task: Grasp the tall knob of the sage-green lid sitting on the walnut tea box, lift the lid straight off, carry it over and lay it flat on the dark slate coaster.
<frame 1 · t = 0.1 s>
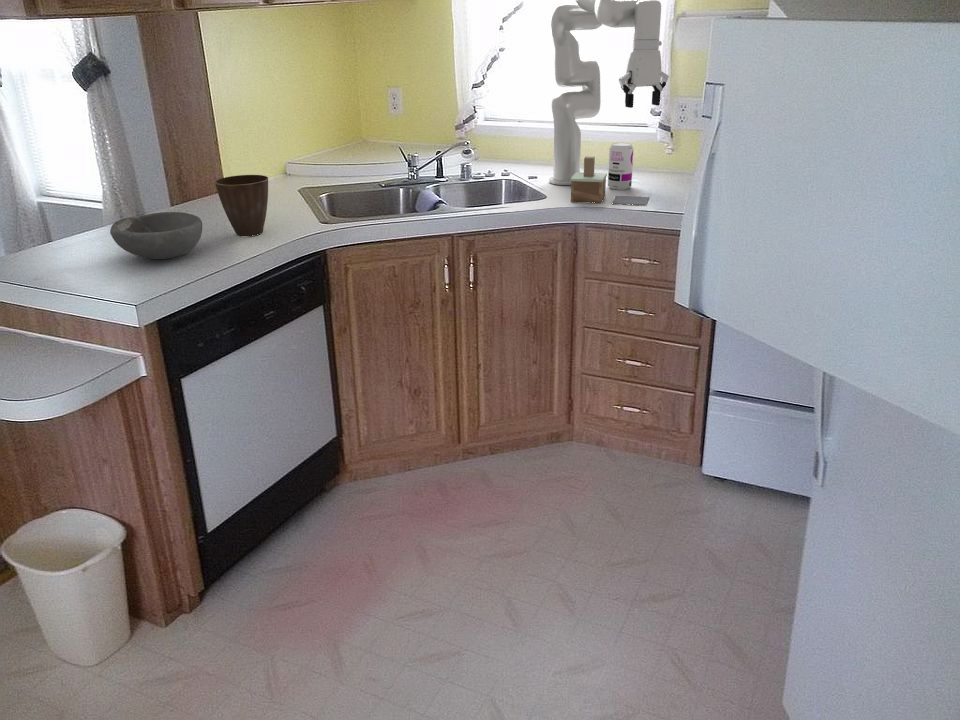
hand: (642, 106, 247), 31 cm above the countertop, tool pointing down, fingers open, 9 cm apart
bowl: (163, 257, 221), on the countertop
lid: (588, 178, 269), point 7 cm above the countertop, touching tea box
plant pot: (249, 234, 241), on the countertop
coaster: (630, 201, 268), on the countertop
supplement can: (619, 188, 287), on the countertop
tea box: (588, 199, 272), on the countertop
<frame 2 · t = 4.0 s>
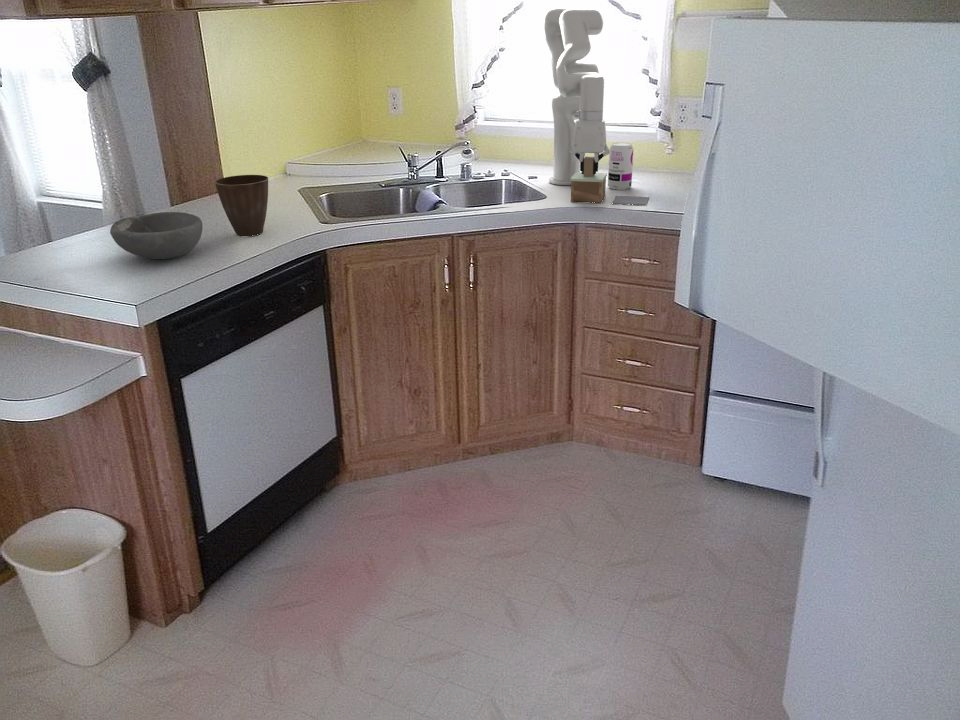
hand: (588, 173, 268), 9 cm above the countertop, tool pointing down, fingers closed on lid, 3 cm apart
lid: (588, 178, 269), point 7 cm above the countertop, touching gripper, tea box
everything else where it was.
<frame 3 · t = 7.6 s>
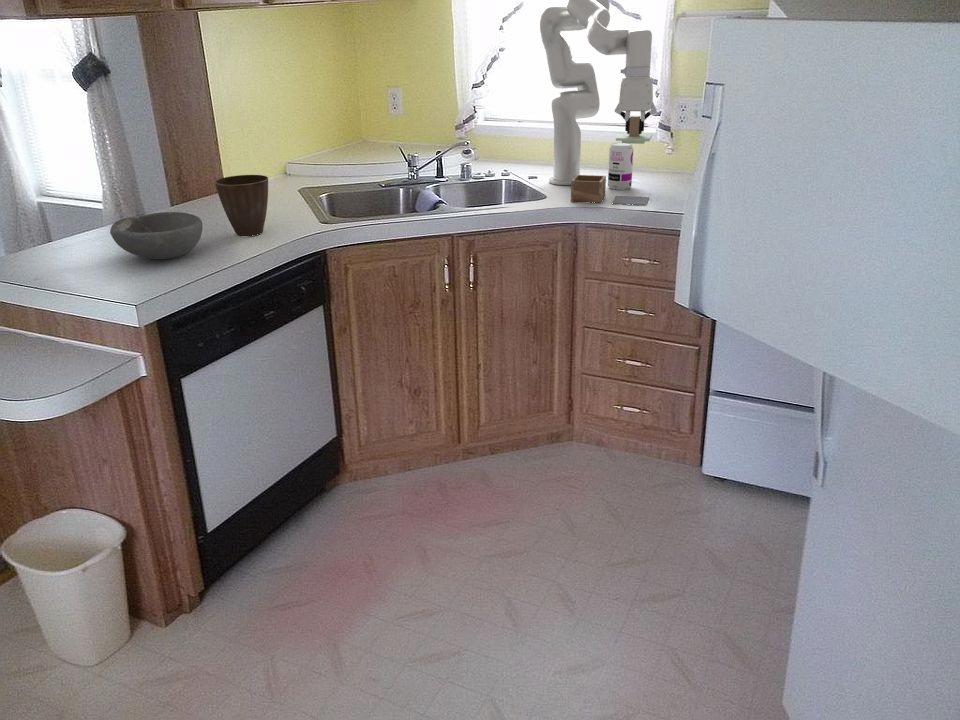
hand: (634, 133, 259), 22 cm above the countertop, tool pointing down, fingers closed on lid, 3 cm apart
lid: (634, 138, 260), point 20 cm above the countertop, touching gripper
everything else where it was.
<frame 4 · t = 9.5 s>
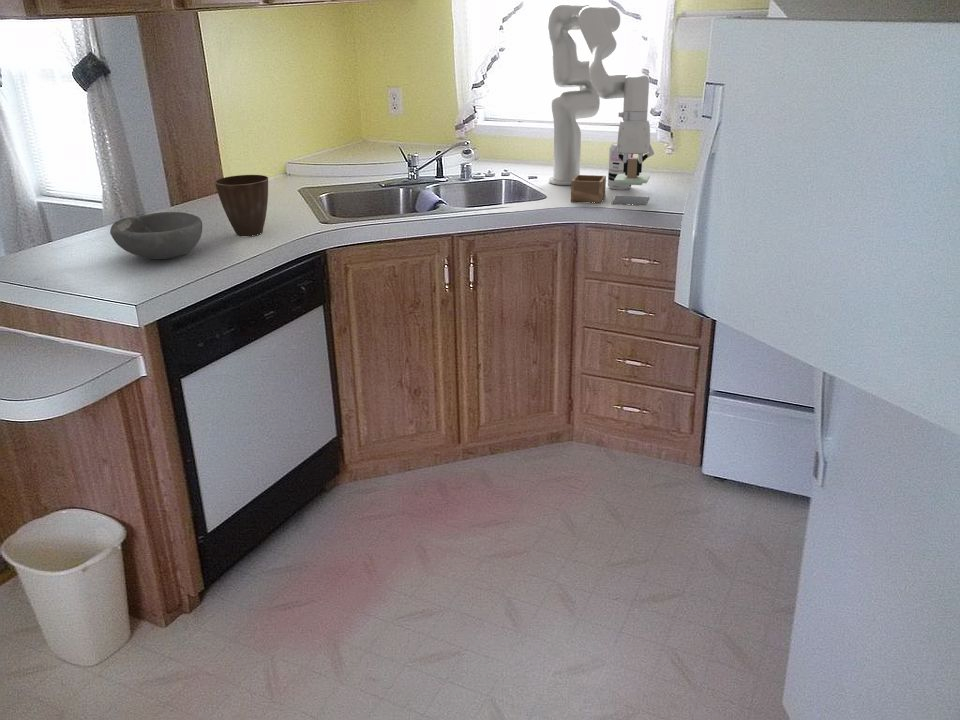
hand: (632, 174, 264), 9 cm above the countertop, tool pointing down, fingers closed on lid, 3 cm apart
lid: (632, 179, 265), point 7 cm above the countertop, touching gripper
everything else where it was.
when the fingers open (5 cm above the countertop, at t = 11.2 s): lid drops 2 cm, resting on coaster.
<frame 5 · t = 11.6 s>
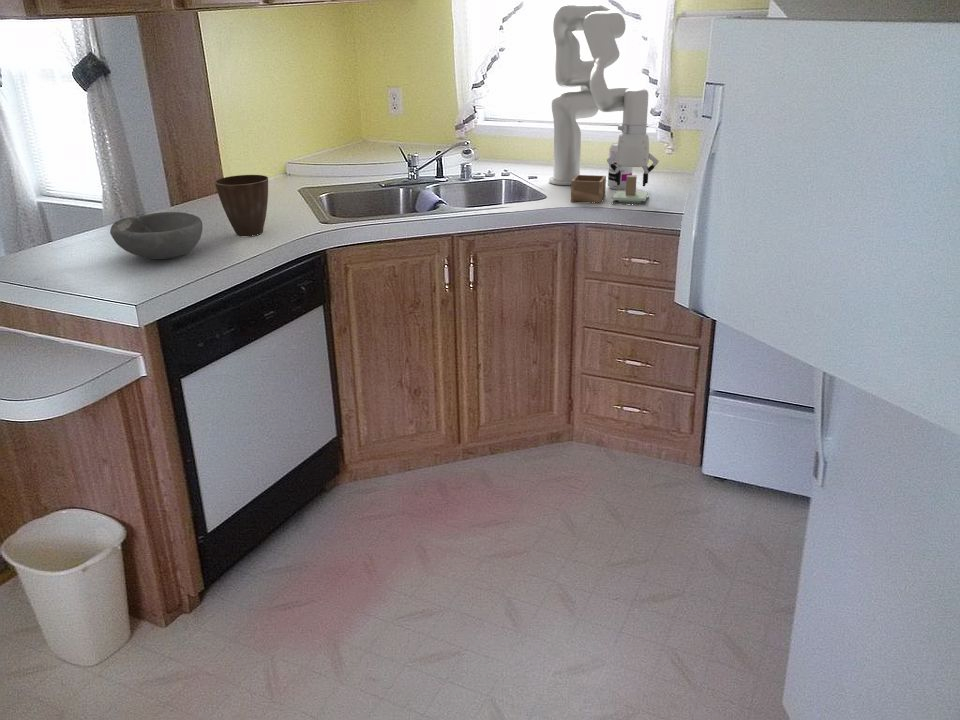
hand: (631, 184, 266), 5 cm above the countertop, tool pointing down, fingers open, 7 cm apart
lid: (630, 196, 268), point 1 cm above the countertop, touching coaster
everything else where it was.
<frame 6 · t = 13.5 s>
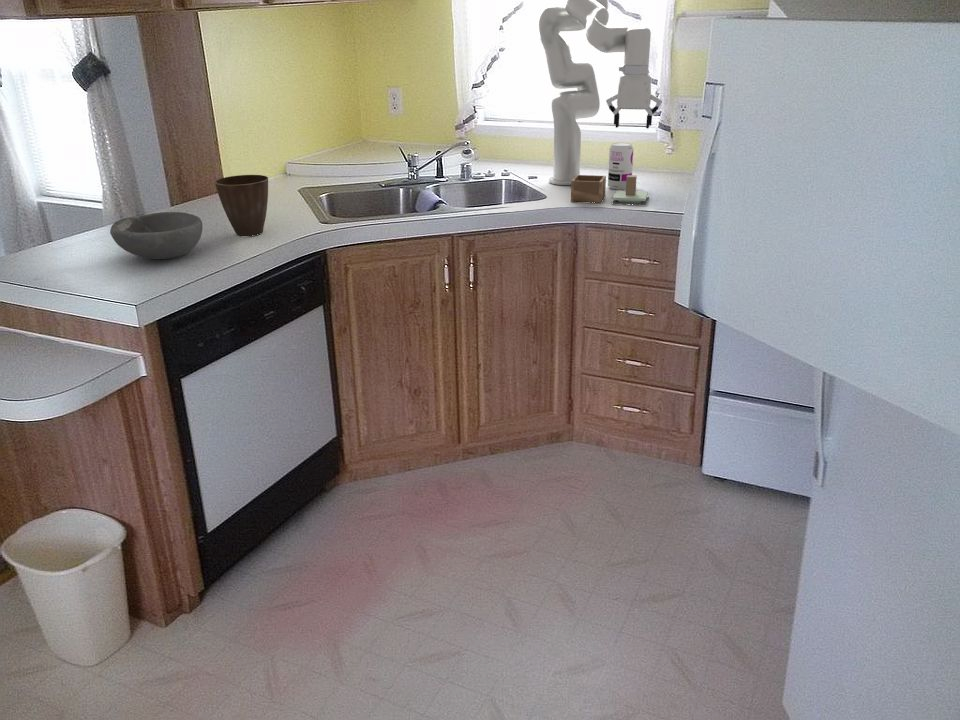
hand: (632, 127, 259), 24 cm above the countertop, tool pointing down, fingers open, 9 cm apart
nothing on the countertop moved.
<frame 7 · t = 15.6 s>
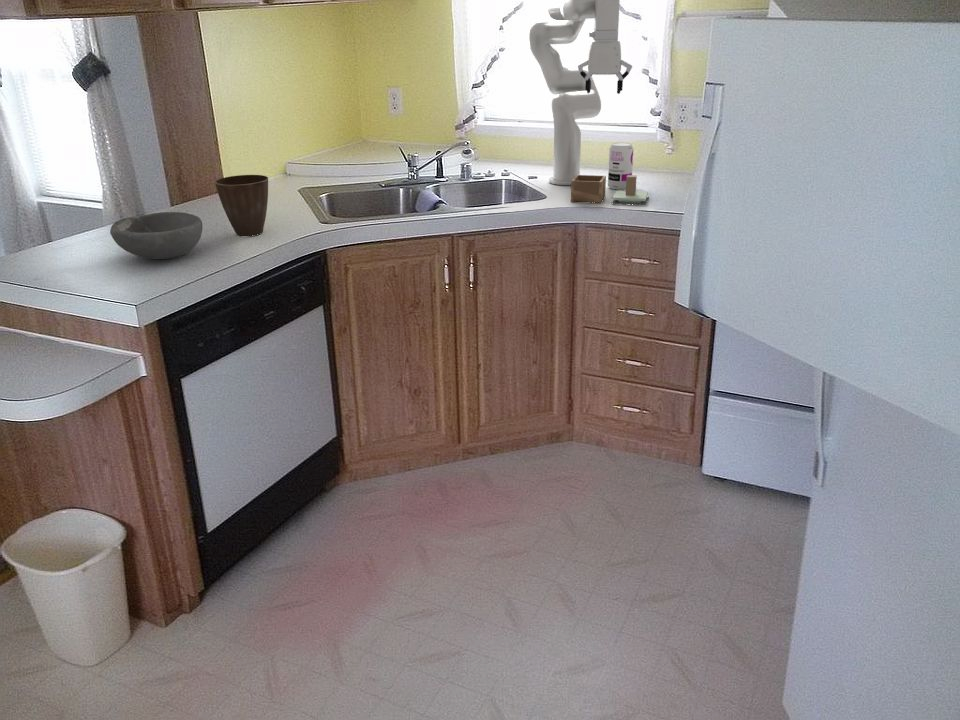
hand: (603, 93, 263), 33 cm above the countertop, tool pointing down, fingers open, 9 cm apart
nothing on the countertop moved.
at the end: lid inside the target area on the coaster (0.1 cm from its centre), point 1.4 cm above the coaster's base; lid tilted 0°; the gripper is holding nothing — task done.
